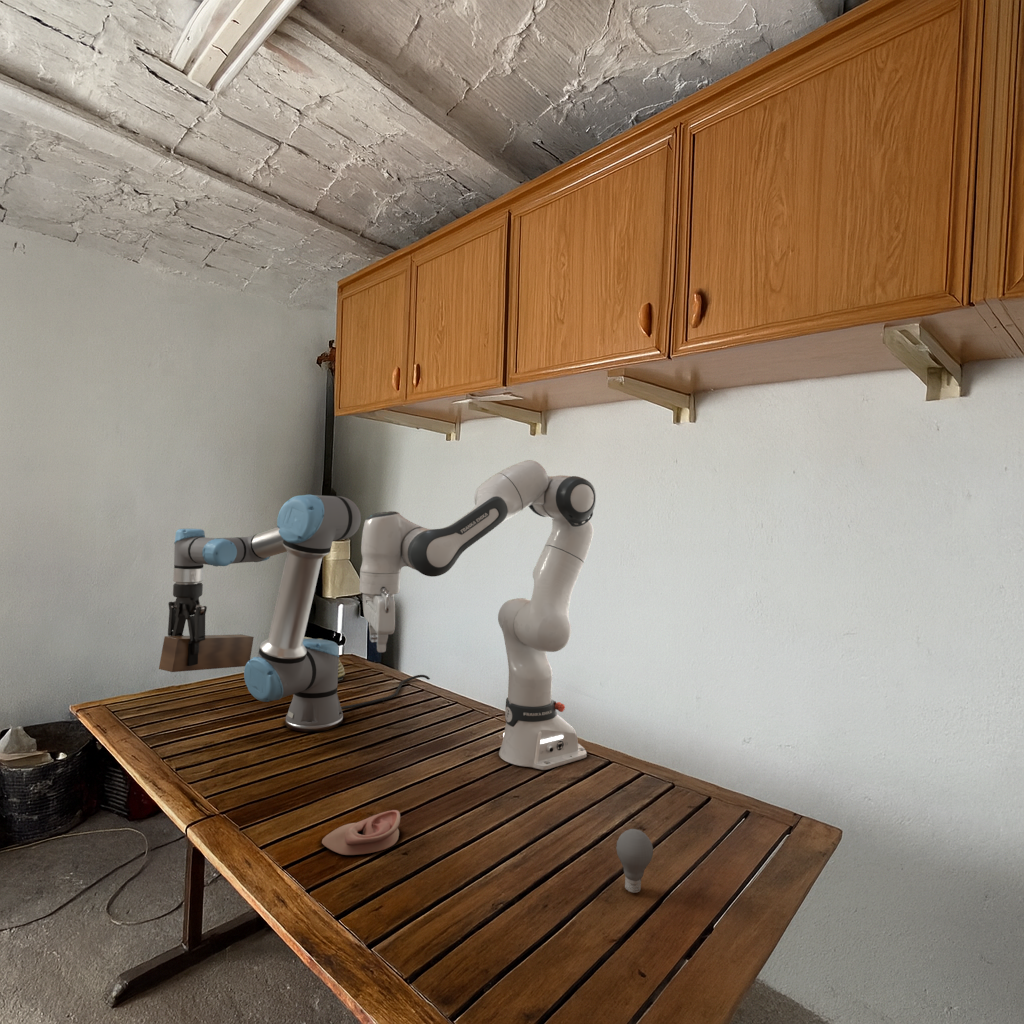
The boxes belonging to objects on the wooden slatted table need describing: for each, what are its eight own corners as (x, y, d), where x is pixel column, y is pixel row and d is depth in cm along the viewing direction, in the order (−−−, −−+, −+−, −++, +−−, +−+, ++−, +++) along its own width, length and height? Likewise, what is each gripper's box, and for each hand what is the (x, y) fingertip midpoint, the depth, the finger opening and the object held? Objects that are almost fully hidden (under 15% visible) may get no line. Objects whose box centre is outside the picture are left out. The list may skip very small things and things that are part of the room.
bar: (172, 672, 175) (177, 638, 176) (158, 669, 177) (164, 636, 178) (249, 666, 199) (253, 636, 200) (236, 663, 202) (241, 634, 203)
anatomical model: (313, 828, 113) (343, 799, 125) (313, 850, 113) (342, 819, 125) (383, 839, 111) (407, 808, 122) (382, 862, 111) (406, 829, 122)
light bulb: (610, 879, 108) (613, 822, 108) (644, 879, 109) (647, 822, 109) (619, 902, 102) (622, 840, 102) (655, 901, 103) (658, 840, 103)
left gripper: (221, 584, 180) (218, 665, 181) (179, 578, 189) (176, 655, 189) (198, 587, 174) (194, 671, 174) (155, 580, 182) (152, 660, 183)
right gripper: (403, 591, 132) (400, 657, 132) (386, 578, 151) (383, 636, 151) (373, 591, 130) (370, 658, 130) (359, 578, 149) (356, 637, 149)
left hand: (185, 662), depth 182 cm, fingers closed on bar, 6 cm apart
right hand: (377, 646), depth 141 cm, fingers open, 8 cm apart
